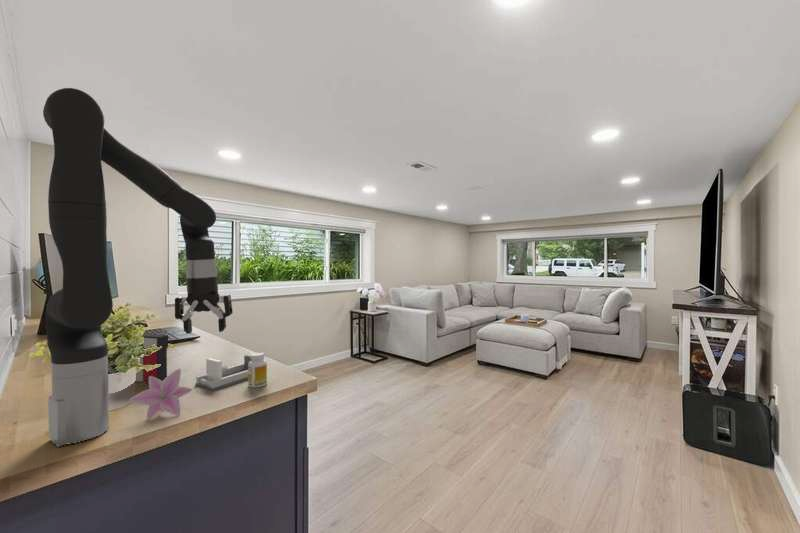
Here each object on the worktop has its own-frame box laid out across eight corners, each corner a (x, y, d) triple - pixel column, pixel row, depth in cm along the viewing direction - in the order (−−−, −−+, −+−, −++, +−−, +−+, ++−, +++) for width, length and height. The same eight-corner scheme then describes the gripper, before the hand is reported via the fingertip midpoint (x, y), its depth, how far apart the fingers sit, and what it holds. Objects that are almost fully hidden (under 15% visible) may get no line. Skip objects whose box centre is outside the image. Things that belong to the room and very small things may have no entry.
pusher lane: (213, 390, 102) (213, 372, 102) (195, 384, 107) (195, 367, 107) (262, 374, 116) (262, 358, 116) (244, 369, 121) (244, 354, 121)
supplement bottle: (270, 382, 109) (269, 352, 109) (261, 388, 104) (261, 356, 104) (254, 381, 110) (253, 351, 109) (244, 387, 104) (244, 356, 104)
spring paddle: (218, 384, 105) (218, 361, 105) (206, 380, 108) (206, 358, 108) (231, 380, 108) (230, 358, 108) (219, 376, 112) (219, 355, 112)
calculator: (129, 382, 109) (128, 335, 109) (142, 377, 113) (141, 333, 113) (156, 385, 106) (156, 337, 106) (169, 380, 111) (168, 334, 110)
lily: (122, 423, 84) (122, 395, 80) (155, 388, 94) (156, 362, 91) (171, 435, 85) (174, 408, 81) (198, 399, 96) (201, 374, 92)
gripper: (167, 277, 90) (171, 337, 92) (224, 275, 93) (228, 334, 94) (180, 275, 98) (184, 330, 99) (233, 273, 100) (236, 327, 101)
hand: (205, 332), depth 96 cm, fingers open, 8 cm apart
